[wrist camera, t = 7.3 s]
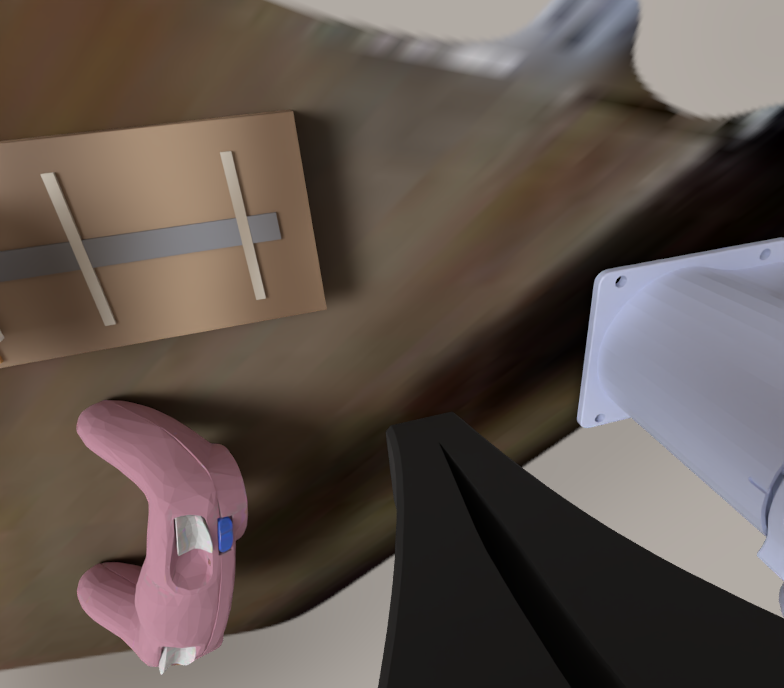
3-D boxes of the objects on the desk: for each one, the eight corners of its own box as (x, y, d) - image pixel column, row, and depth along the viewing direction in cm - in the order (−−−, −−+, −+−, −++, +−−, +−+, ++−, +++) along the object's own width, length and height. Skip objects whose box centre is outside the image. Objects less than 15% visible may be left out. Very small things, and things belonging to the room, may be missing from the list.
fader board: (290, 109, 14) (293, 111, 13) (321, 293, 17) (327, 310, 16) (-219, 165, 12) (-280, 174, 11) (-85, 363, 15) (-119, 391, 14)
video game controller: (182, 546, 23) (245, 675, 19) (71, 587, 20) (116, 752, 16) (203, 373, 19) (288, 486, 15) (69, 391, 16) (128, 538, 12)
